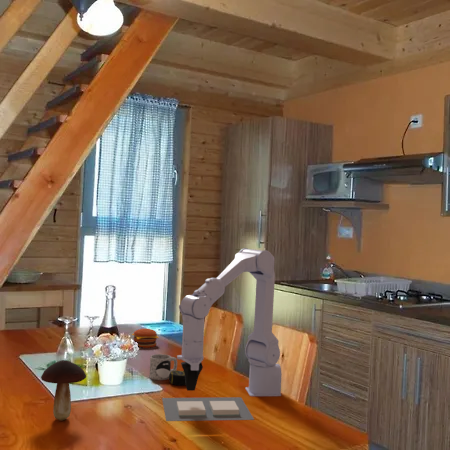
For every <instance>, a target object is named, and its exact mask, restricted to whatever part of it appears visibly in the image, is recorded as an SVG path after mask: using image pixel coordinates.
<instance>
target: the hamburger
mask: <svg viewBox="0 0 450 450" xmlns="http://www.w3.org/2000/svg"><path fill="white" fill-rule="evenodd" d="M131 336H133V342H134V341H135V342H137V343H138V346H139V347H143V348H142V349H151V348H155V347H156V346H157V339H160V337H159V336H158V335H157V332H156V330H155V329H151V328H146V327H145V328H140V329H136V330H135V331H134V332H133V333H132V334H131ZM139 347H138V348H139ZM150 347H151V348H150Z"/></svg>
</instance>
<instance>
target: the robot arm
mask: <svg viewBox="0 0 450 450" xmlns="http://www.w3.org/2000/svg"><path fill="white" fill-rule="evenodd" d="M275 260H276V259H275V256H274V255H273V254H272V253H271V252H270V251H269V250H268V249H267V250H266V249H265V250H264V249H263V250H261V249H254V248H253V249H252V248H247V247H244V248H241V249H240V250H239V251H238V252H237V253H235V255H234V259H232V261H231V262H230V264H228V265H227V266H226V267H225V268H224V270H222V272H221V273H219V275H218V276H217V277H210V278H206V279H205V280H204V283H203V284H202V285H201V286H200V287H199V288H198V289H195V290H194V291H193V293H192V294H188V295H185V296H184V297H183V298H182V299H181V302H180V304H179V305H178V308H179V311H180V313H181V315H182V316H181V319H182V339H181V340H182V342H181V345H182V346H181V354H178V355H176V358H177V360H181V361H183V362H180V365H181V368H182V371H184V374H185V382H186V385H185V388H186V390H187V391H190V392H191V391H194V392H195V391H196V388H197V384H198V380H199V376H200V374H201V372H202V370H203V368H204V366H203V363H202V362H203V360H204V334H205V318H206V317H207V316H208V314H209V313H210V309H211V307H212V306H213V304H214V303H216V302H217V300H219V299H220V297H222V296H223V295H224V294H225V292H226V291H225V290H226V289H225V288H226V287H227V286H228V285H229V284H231V282H233V281H234V280H236V279H237V278H238V277H239V276H240V275H242V274H243V273H249V274H250V275H251V276H253V278H254V279H255V280H256V282H255V283H256V284H255V287H256V288H255V301H254V303H255V305H254V322H253V324H254V325H253V331H252V332H251V333H250V334H249V335H248V336H247V343H246V345H245V347H244V355H245V356H246V358H247V359H248V360H247V362H249V373H248V374H249V376H248V386H246V387H245V390H246V392H247V393H248V395H249V396H250V397H281V396H282V393H281V392H282V367H281V365H280V364H279V363H278V362H279V360H280V357H281V356H280V355H281V349H280V346H279V339H278V338H277V336H275V334H274V333H273V321H274V320H273V319H274V317H273V316H274V301H275V299H274V297H275V280H276V274H275V273H276V272H275Z"/></svg>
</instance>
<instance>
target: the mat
mask: <svg viewBox="0 0 450 450" xmlns="http://www.w3.org/2000/svg"><path fill="white" fill-rule="evenodd" d="M161 399H162V406H163V410H164V417H165V421H166V422H189V421H191V422H193V421H194V422H198V421H199V422H200V421H206V422H207V421H254V420H255V418H254V416H253V415H252V414H251V412H250V410H249V408H248V406H247V405H246V404H245V401H244V400H243V398H242V397H241V396H240V397H239V396H238V397H237V396H236V397H234V396H232V397H227V396H226V397H220V396H219V397H217V396H216V397H162V398H161ZM177 401H202V402H203V404H204V407H205V410H206V413H205V416H179V415H178V411H177ZM209 401H235V403H236V405H237V406H238V408H239V416H213V415H212V413H211V410H210V408H209Z"/></svg>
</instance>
